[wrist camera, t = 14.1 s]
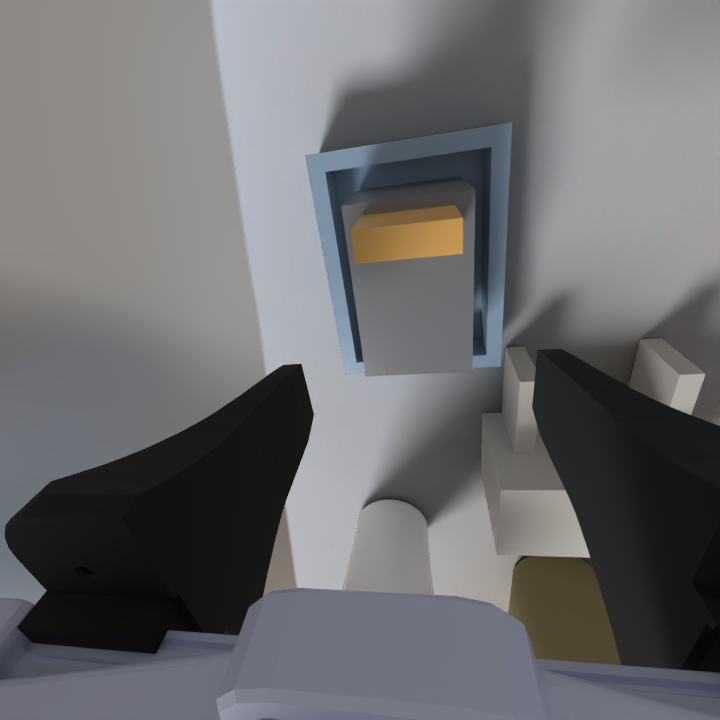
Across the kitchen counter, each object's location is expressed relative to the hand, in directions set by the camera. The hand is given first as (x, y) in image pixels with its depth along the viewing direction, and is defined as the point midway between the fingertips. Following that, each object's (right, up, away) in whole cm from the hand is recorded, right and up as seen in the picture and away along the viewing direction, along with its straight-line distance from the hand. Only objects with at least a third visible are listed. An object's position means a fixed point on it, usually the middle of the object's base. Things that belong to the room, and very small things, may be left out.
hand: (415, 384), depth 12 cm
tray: (+1, +6, +7) cm, 10 cm away
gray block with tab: (+1, +6, +7) cm, 9 cm away
